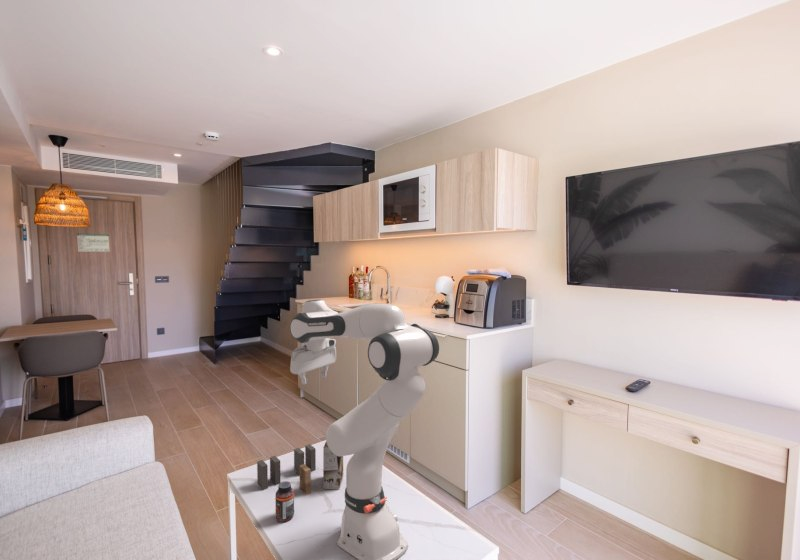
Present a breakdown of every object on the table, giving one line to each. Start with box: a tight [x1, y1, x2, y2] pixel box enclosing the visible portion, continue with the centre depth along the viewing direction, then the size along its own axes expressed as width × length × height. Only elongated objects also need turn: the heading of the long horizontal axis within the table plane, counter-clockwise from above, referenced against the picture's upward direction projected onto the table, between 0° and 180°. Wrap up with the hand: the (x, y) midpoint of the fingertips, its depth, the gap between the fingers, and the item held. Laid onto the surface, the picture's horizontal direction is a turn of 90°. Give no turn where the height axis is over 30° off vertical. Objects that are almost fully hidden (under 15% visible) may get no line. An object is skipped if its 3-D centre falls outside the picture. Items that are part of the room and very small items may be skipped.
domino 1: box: [256, 459, 269, 491], centre depth 149 cm, size 5×2×9 cm, turn 41°
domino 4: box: [299, 463, 312, 496], centre depth 146 cm, size 5×2×9 cm, turn 41°
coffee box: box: [322, 441, 344, 490], centre depth 152 cm, size 9×6×16 cm
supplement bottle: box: [274, 480, 295, 523], centre depth 131 cm, size 6×6×11 cm
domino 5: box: [304, 443, 317, 473], centre depth 162 cm, size 5×2×9 cm, turn 41°
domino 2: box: [269, 455, 282, 486], centre depth 152 cm, size 5×2×9 cm, turn 40°
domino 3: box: [293, 447, 305, 477], centre depth 159 cm, size 5×2×9 cm, turn 40°
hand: (314, 380), depth 145 cm, fingers open, 8 cm apart
